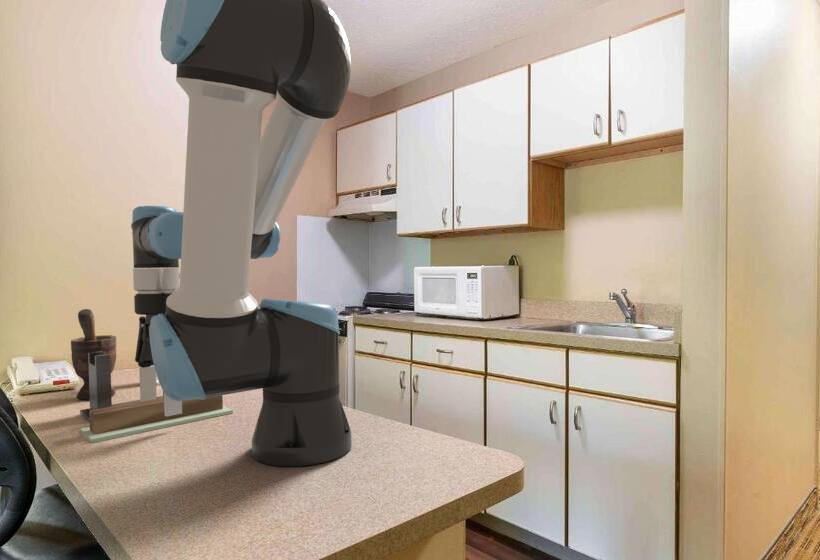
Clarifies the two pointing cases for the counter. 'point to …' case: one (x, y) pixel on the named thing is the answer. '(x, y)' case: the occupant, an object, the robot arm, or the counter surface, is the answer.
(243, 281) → the robot arm
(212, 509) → the counter surface
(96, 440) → the mat
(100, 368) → the rack
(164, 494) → the counter surface
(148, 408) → the rail
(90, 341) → the mortar and pestle
